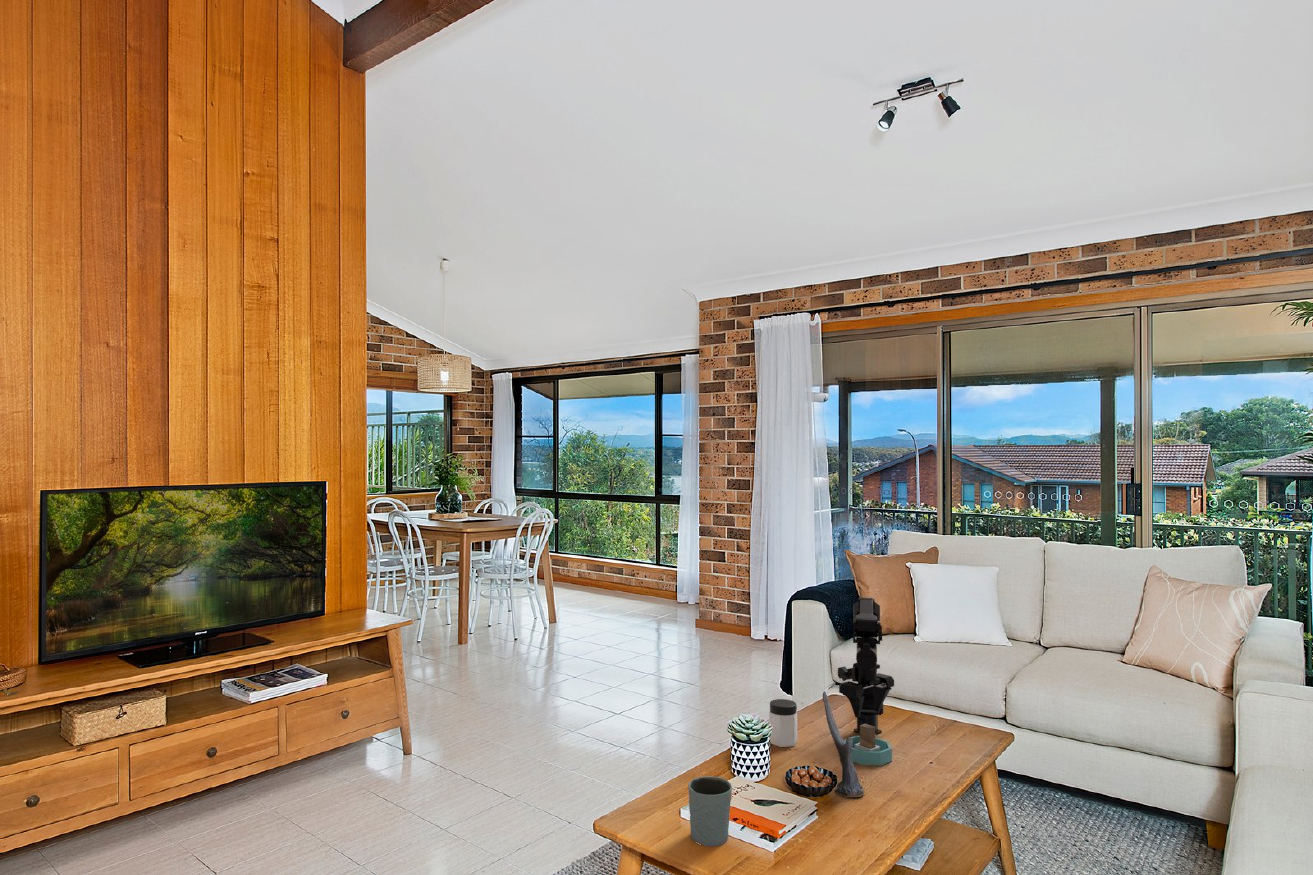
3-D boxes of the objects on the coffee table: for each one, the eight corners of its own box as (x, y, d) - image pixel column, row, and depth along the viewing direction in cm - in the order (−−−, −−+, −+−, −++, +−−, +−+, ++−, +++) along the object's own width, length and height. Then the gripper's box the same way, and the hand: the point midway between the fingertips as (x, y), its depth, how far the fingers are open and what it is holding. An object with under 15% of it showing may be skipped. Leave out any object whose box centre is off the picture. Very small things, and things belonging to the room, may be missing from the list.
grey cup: (705, 823, 187) (705, 772, 187) (741, 836, 181) (740, 783, 181) (679, 839, 179) (679, 786, 180) (715, 853, 173) (715, 798, 173)
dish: (863, 745, 238) (863, 733, 238) (900, 758, 228) (899, 745, 228) (835, 755, 230) (835, 742, 230) (871, 768, 220) (871, 755, 220)
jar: (803, 743, 240) (803, 703, 240) (785, 749, 235) (785, 709, 235) (781, 735, 247) (781, 697, 247) (763, 741, 242) (763, 702, 242)
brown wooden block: (865, 751, 231) (864, 723, 231) (875, 754, 228) (875, 727, 229) (860, 753, 230) (859, 725, 230) (870, 756, 227) (870, 728, 227)
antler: (869, 793, 204) (868, 696, 205) (854, 802, 198) (853, 703, 199) (829, 780, 212) (829, 687, 213) (814, 789, 206) (814, 693, 207)
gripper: (864, 650, 242) (864, 701, 241) (824, 660, 231) (824, 713, 230) (895, 657, 233) (895, 711, 233) (854, 667, 222) (855, 723, 221)
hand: (867, 714), depth 229 cm, fingers open, 9 cm apart
